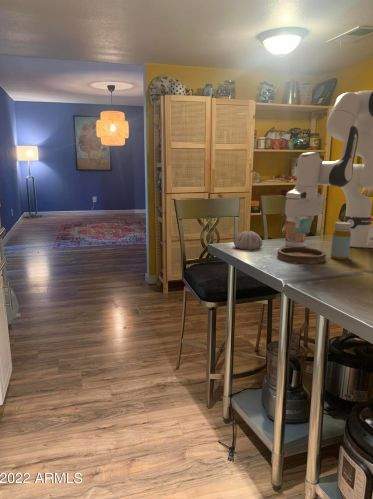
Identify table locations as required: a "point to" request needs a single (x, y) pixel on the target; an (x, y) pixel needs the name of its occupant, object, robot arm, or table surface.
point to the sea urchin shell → (248, 240)
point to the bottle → (341, 241)
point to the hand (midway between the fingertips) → (303, 227)
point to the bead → (304, 226)
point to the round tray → (301, 255)
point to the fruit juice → (294, 234)
